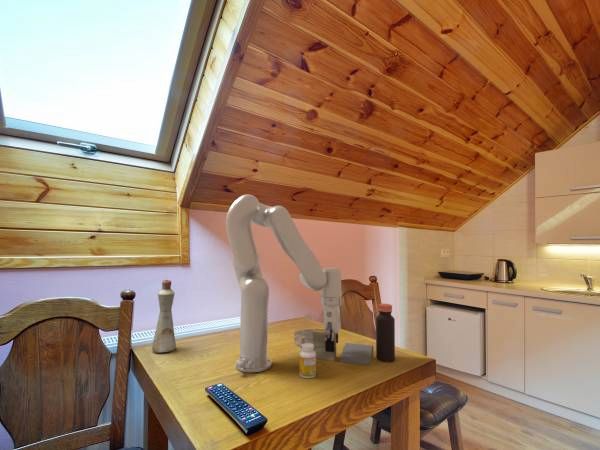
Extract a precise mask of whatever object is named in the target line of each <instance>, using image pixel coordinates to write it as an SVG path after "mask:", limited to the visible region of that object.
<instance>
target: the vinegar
mask: <svg viewBox="0 0 600 450" xmlns="http://www.w3.org/2000/svg"><path fill="white" fill-rule="evenodd" d="M378 312H379V314H378V315H377V316H376V317H375V323H376V324H375V334H376V335H375V340H376V341H375V347H376V348H375V357H376V359H377V360H379V361H380V362H383V363H392V362H394V361H395V360H396V351H395V350H396V344H395V343H396V341H395V340H396V338H395V337H396V336H395V335H396V334H395V333H396V332H395V331H396V329H395V327H396V326H395V317H394V316H393V315H392V313H393V305H392V304H390V303H379V304H378Z"/></svg>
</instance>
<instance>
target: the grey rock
mask: <svg viewBox="0 0 600 450" xmlns="http://www.w3.org/2000/svg"><path fill="white" fill-rule="evenodd" d="M315 329H316V328H315ZM315 329H314V328H313V329H299V330H295V332H294V334H293V335H294V337H293V338H294V341H295V345H296V346H297V347H300V348H301V349H302V344H304V343H312V344H313V332H314V330H315Z"/></svg>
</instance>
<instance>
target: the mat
mask: <svg viewBox="0 0 600 450" xmlns="http://www.w3.org/2000/svg"><path fill="white" fill-rule="evenodd" d="M372 351H373V345H371V344H362V343H361V344H360V343H350V342H349V343H348V342H345V343H344V347H343V349H342V352H341V355H340V357H339V362H340V363H347V364H357V365H364V366H371V363H372V353H373V352H372Z"/></svg>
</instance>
